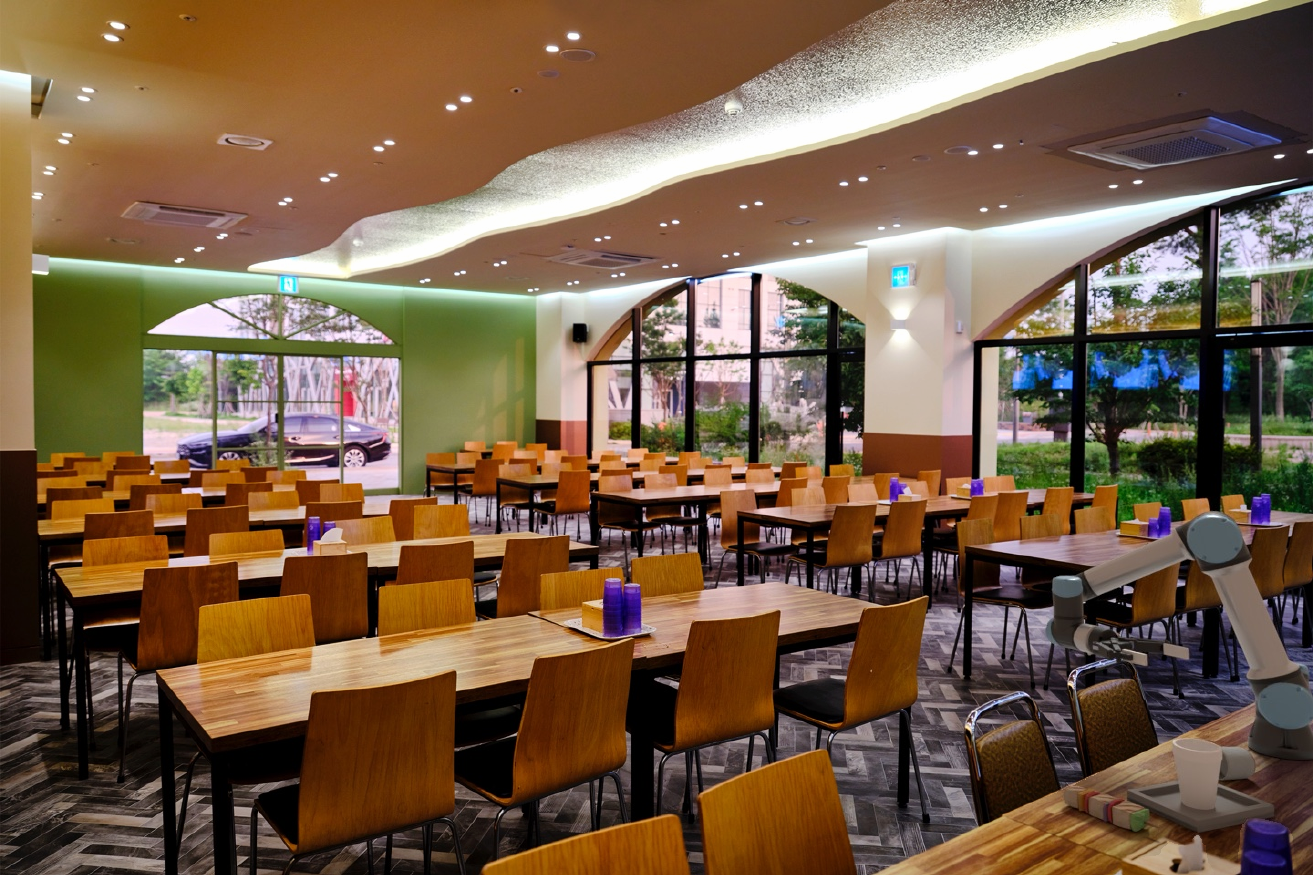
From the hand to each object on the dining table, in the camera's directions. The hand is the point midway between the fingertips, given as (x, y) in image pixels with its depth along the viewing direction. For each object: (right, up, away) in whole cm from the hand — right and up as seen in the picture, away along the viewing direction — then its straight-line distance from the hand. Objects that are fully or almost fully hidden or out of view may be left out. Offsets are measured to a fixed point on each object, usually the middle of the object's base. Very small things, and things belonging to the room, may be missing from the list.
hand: (1167, 656), depth 220 cm
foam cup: (-4, -28, -20) cm, 35 cm away
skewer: (-26, -29, -25) cm, 47 cm away
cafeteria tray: (-4, -29, -20) cm, 35 cm away
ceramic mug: (+13, -29, -1) cm, 32 cm away
